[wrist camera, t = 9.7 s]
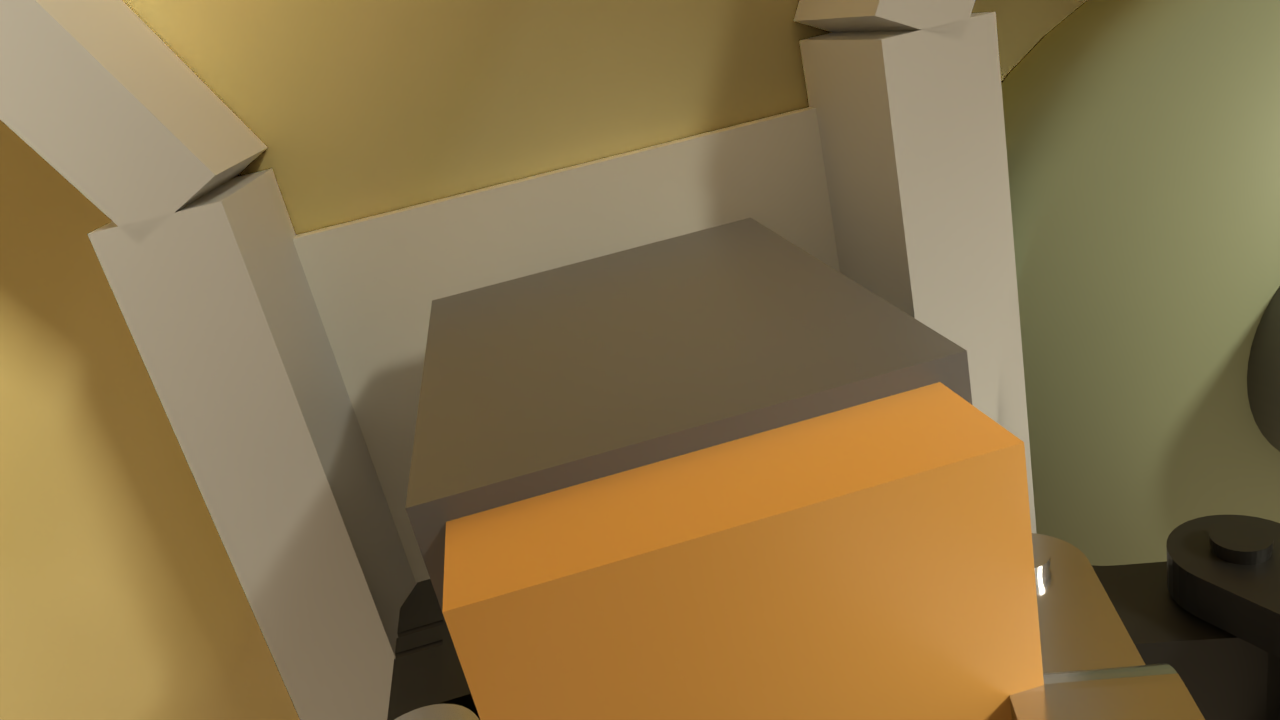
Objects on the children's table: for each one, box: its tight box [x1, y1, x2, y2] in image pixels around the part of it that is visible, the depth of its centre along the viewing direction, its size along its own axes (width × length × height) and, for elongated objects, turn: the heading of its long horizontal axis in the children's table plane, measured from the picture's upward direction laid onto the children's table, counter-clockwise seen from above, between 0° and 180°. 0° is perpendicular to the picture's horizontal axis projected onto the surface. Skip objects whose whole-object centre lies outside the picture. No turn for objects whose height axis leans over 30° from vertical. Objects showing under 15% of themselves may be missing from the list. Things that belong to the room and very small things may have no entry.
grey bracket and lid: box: [0, 0, 1280, 720], centre depth 13 cm, size 16×24×5 cm
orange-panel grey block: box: [405, 217, 1044, 720], centre depth 11 cm, size 8×4×7 cm, turn 13°
